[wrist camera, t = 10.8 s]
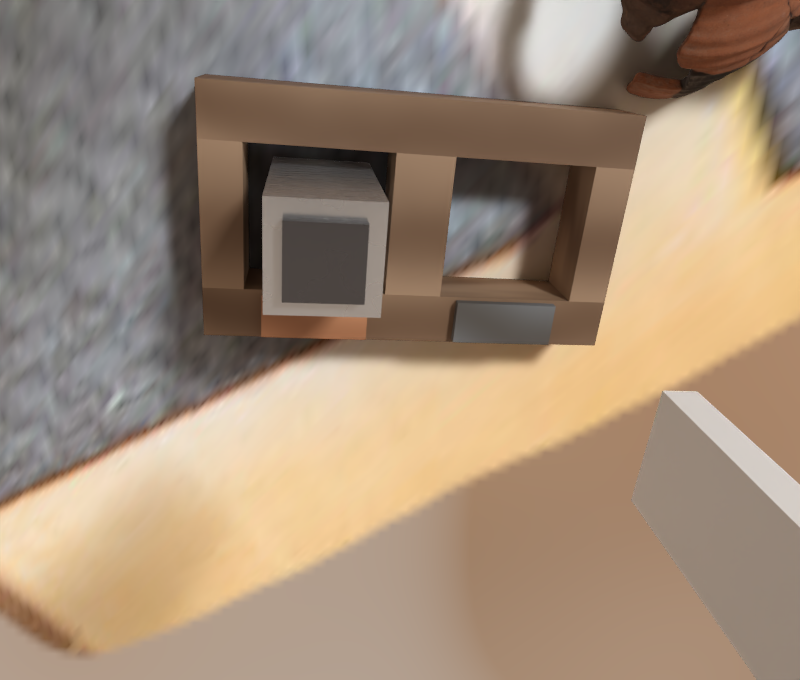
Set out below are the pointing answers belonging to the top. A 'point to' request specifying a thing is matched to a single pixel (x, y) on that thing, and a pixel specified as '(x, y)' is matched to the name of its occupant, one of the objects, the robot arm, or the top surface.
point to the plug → (323, 239)
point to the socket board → (417, 206)
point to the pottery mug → (708, 38)
